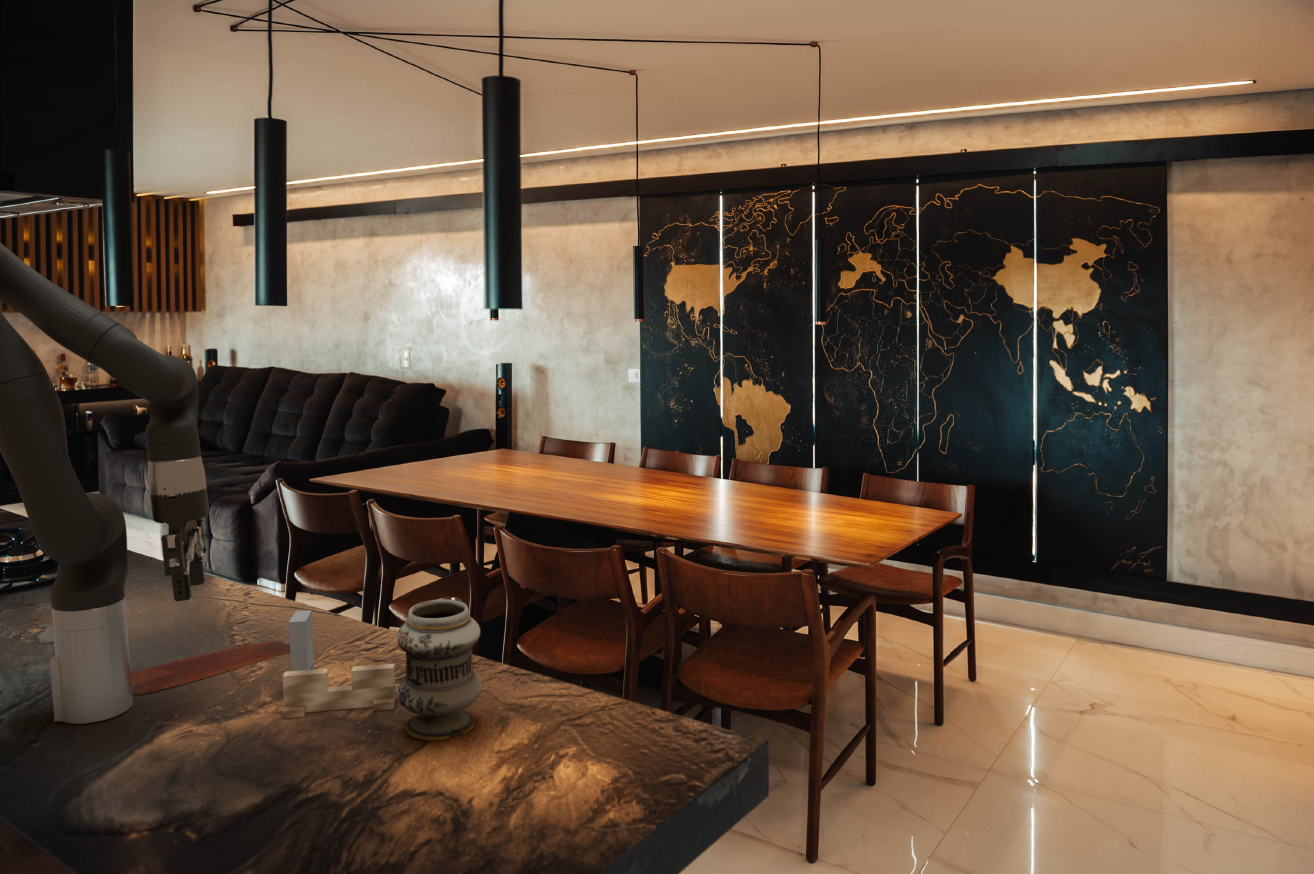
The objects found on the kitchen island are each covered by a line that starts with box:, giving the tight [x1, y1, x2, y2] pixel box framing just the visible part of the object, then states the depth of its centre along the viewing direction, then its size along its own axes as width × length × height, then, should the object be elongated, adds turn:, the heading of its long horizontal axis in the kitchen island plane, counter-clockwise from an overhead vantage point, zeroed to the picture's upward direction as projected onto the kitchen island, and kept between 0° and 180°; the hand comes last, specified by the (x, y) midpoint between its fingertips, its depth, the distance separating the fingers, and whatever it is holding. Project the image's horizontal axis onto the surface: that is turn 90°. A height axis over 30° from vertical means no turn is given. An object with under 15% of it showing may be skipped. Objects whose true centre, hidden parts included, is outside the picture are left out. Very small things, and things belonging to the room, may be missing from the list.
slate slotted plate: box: [288, 610, 315, 671], centre depth 138 cm, size 2×5×12 cm, turn 13°
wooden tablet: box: [131, 640, 290, 696], centre depth 147 cm, size 27×10×2 cm, turn 139°
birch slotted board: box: [281, 663, 397, 720], centre depth 131 cm, size 16×5×6 cm, turn 102°
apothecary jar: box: [396, 599, 483, 742], centre depth 124 cm, size 12×12×18 cm
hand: (190, 592), depth 130 cm, fingers open, 8 cm apart
